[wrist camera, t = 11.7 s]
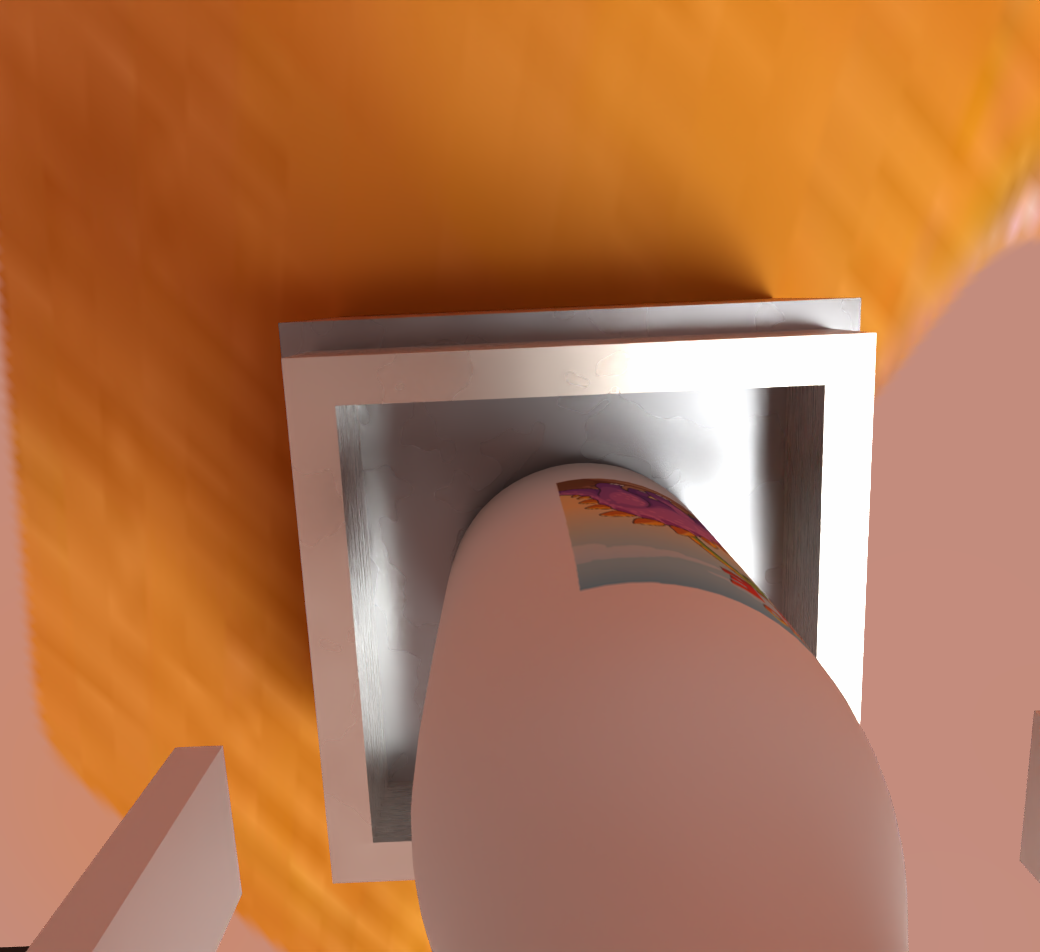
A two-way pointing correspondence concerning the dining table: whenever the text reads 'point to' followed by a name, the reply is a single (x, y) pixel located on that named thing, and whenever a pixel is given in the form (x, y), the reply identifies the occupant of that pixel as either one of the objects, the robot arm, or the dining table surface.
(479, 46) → the dining table surface
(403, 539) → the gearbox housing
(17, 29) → the dining table surface
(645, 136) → the dining table surface
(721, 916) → the milk bottle
